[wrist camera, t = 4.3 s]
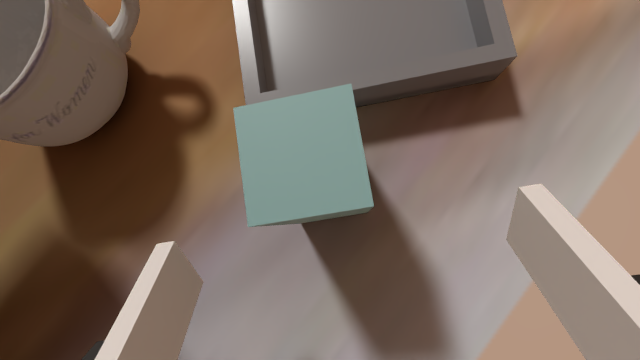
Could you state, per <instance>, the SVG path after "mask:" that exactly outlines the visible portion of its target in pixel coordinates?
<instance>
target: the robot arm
mask: <svg viewBox="0 0 640 360" xmlns="http://www.w3.org/2000/svg"><path fill="white" fill-rule="evenodd" d="M506 240H507V241H508V243H509V244H510V246H511V247H512V249H513V250H514V252H515V253H516V255H517V256H518V258H519V259H520V261H521V262H522V264H523V265H524V267H525V268H526V270H527V272H528V273H529V275H530V276H531V278H532V279H533V281H534V282H535V284H536V285H537V287H538V288H539V290H540V291H541V293H542V294H543V296H544V297H545V298H546V300H547V302H548V303H549V305H550V306H551V308H552V309H553V311H554V312H555V314H556V315H557V317H558V318H559V320H560V321H561V323H562V324H563V326H564V327H565V329H566V330H567V332H568V333H569V335H570V336H571V338H572V339H573V341H574V342H575V344H576V345H577V347H578V348H579V350H580V351H581V353H582V354H583V356H584V357H585V359H586V360H640V275H632V276H631V275H629V273H628V272H627V271H626V270H625V269H624V268H623V267H622V266H621V265H620V264H619V263H618V262H617V261H616V260H615V259H614V258H613V257H612V256H611V255H610V254H609V253H608V252H607V251H606V250H605V249H604V248H603V247H602V246H601V245H600V244H599V243H598V241H597V240H595V238H594V237H593V236H592V235H591V234H590V233H589V232H588V231H587V230H586V229H585V228H584V227H583V226H582V225H581V224H580V223H579V222H578V221H577V220H576V219H575V218H574V217H573V216H572V215H571V214H570V213H569V212H568V211H567V210H566V209H565V208H564V206H563V205H562V204H561V203H560V202H559V201H558V200H557V199H556V198H555V197H554V196H553V195H552V194H551V193H550V192H549V191H548V190H547V189H546V188H545V187H544V186H543V185H542V184H536V185H530V186H523V187H518V192H517V196H516V200H515V204H514V209H513V213H512V217H511V221H510V226H509V230H508V234H507V238H506ZM202 285H203V280H202V279H201V278H200V276H199V275H198V273H197V272H196V271H195V269H194V268H193V266H192V265H191V264H190V262H189V261H188V259H187V258H186V256H185V255H184V254H183V252H182V251H181V249H180V248H179V247H178V245H177V244H176V242H175V241H172V242H165V243H159V244H156V246H155V248H154V250H153V252H152V254H151V256H150V257H149V259H148V261H147V263H146V265H145V267H144V269H143V270H142V272H141V274H140V276H139V278H138V280H137V282H136V283H135V285H134V287H133V289H132V291H131V293H130V295H129V296H128V298H127V300H126V302H125V304H124V306H123V308H122V309H121V311H120V313H119V315H118V317H117V319H116V321H115V323H114V324H113V326H112V328H111V330H110V332H109V334H108V336H107V337H106V339H105V341H98V342H96V343H95V345H94V346H93V347H92V348H91V349H90V350H89V351H88V353H87V354H86V355H85V356H84V357H83V358H82V360H177V359H178V356H179V353H180V350H181V347H182V344H183V341H184V338H185V335H186V332H187V329H188V326H189V323H190V320H191V317H192V314H193V311H194V308H195V305H196V302H197V299H198V296H199V293H200V290H201V287H202Z"/></svg>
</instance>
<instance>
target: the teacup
mask: <svg viewBox="0 0 640 360" xmlns="http://www.w3.org/2000/svg"><path fill="white" fill-rule="evenodd" d="M139 13H140V7H139V0H122V5H121V10H120V13H119V15H118V17H117V19H116V21H115V22H114V24H113V25H112V26H111V27H109V25H108V24H107V23H106V22H105V21H104V20H103V19H102V18H101V17H100V16H98V15H97V14H96V13H95V12H94V11H93V10H92V9H91V8H89V7H88V6H87V5H86V3H85V2H84V1H83V0H0V139H2V140H7V141H12V142H16V143H21V144H28V145H34V146H62V145H67V144H71V143H75V142H77V141H80V140H82V139H84V138H86V137H88V136H90V135H91V134H93V133H94V132H96V131H97V130H99V129H100V128H101V127H102V126H103V125H104V124H105V123H106V122H108V121H109V120H110V119H111V118H112V117H113V115H114V114H115V113H116V111H117V110H118V108H119V107H120V105H121V103H122V100H123V98H124V95H125V91H126V85H127V78H128V66H127V59H126V55H125V54H126V52H128V51H129V50H130V48H131V40H130V37H131V35H132V34H133V32H134V29H135V27H136V25H137V23H138V18H139Z"/></svg>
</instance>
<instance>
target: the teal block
mask: <svg viewBox="0 0 640 360" xmlns="http://www.w3.org/2000/svg"><path fill="white" fill-rule="evenodd" d="M233 109H234V117H235V125H236V133H237V142H238V150H239V158H240V166H241V174H242V182H243V190H244V198H245V206H246V214H247V223H248V227H256V226H270V225H285V224H300V223H307V222H313V221H319V220H325V219H331V218H337V217H343V216H349V215H356V214H362V213H367V212H368V211H369V210H371V209H372V208H373V207H374V203H373V198H372V192H371V187H370V182H369V176H368V171H367V165H366V160H365V155H364V149H363V144H362V138H361V133H360V128H359V122H358V117H357V111H356V106H355V101H354V95H353V90H352V84H346V85H341V86H336V87H332V88H327V89H322V90H317V91H312V92H308V93H303V94H298V95H293V96H288V97H284V98H279V99H274V100H269V101H264V102H260V103H255V104H250V105H245V106H240V107H236V108H233Z"/></svg>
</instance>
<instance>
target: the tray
mask: <svg viewBox="0 0 640 360" xmlns="http://www.w3.org/2000/svg"><path fill="white" fill-rule="evenodd" d="M232 2H233V9H234V17H235V25H236V32H237V40H238V48H239V55H240V63H241V71H242V79H243V86H244V94H245V102H246V105H250V104H255V103H260V102H264V101H269V100H274V99H279V98H284V97H288V96H293V95H298V94H303V93H308V92H312V91H317V90H322V89H327V88H332V87H336V86H341V85H346V84H352V90H353V95H354V101H355V106H356V107H360V106H365V105H370V104H375V103H380V102H385V101H390V100H395V99H400V98H405V97H410V96H415V95H420V94H425V93H430V92H435V91H440V90H445V89H450V88H455V87H460V86H465V85H470V84H475V83H480V82H485V81H490V80H495V79H496V78H497V77H498V75H499V74H500V73H501V72H502V71H503V70H504V69H505V68H506V67H507V66H508V65H509V64H510V63H511V62H512V61H513V60H514V59H515V58H516V57H517V53H516V49H515V46H514V42H513V38H512V35H511V31H510V27H509V24H508V20H507V16H506V13H505V9H504V6H503V2H502V0H232Z"/></svg>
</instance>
